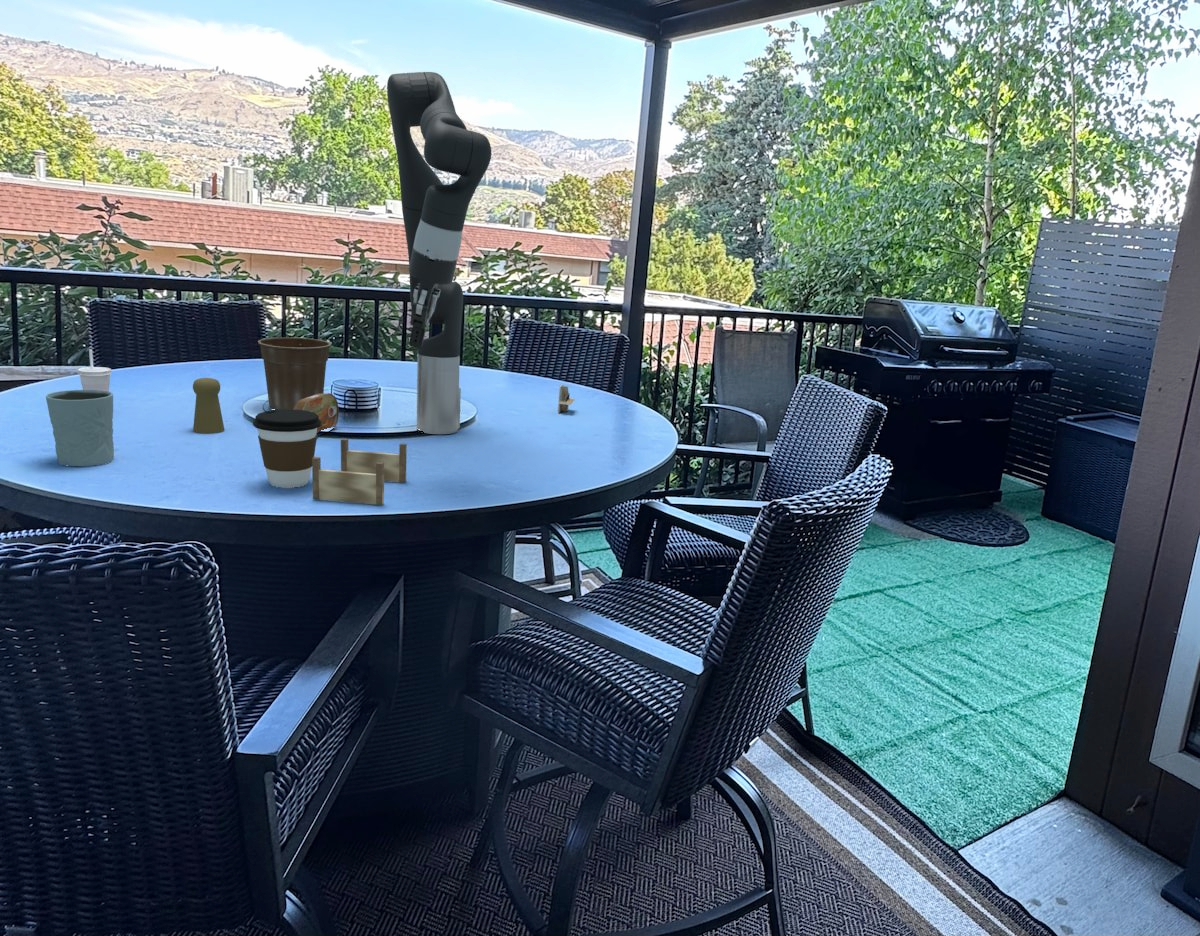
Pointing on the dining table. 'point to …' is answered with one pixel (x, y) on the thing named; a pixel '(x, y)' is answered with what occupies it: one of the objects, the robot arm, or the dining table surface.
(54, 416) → the green embossed planter
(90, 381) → the smoothie
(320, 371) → the plant pot
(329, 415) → the tin
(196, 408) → the cork
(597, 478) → the dining table surface
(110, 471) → the dining table surface
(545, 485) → the dining table surface
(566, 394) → the architectural model
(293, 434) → the coffee cup
